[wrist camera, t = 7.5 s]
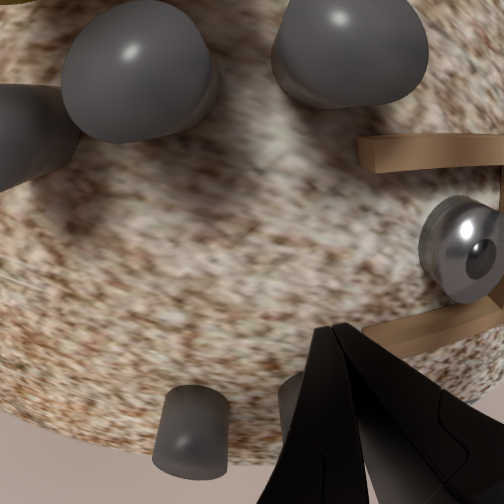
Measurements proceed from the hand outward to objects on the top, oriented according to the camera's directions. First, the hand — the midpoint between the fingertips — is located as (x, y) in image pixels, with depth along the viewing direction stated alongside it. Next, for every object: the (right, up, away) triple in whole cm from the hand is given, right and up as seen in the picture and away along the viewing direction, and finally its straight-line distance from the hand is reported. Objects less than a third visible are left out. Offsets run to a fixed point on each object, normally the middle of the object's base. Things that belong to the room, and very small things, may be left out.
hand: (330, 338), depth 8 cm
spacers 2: (-2, -7, +10) cm, 12 cm away
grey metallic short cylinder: (+8, +3, +6) cm, 10 cm away
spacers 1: (-5, +9, +3) cm, 10 cm away
